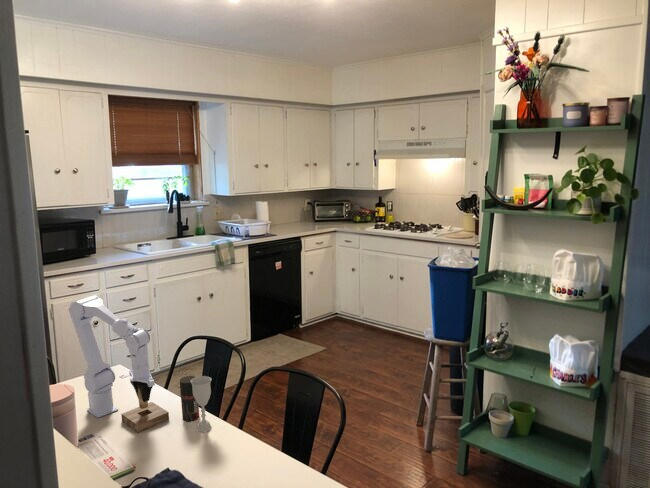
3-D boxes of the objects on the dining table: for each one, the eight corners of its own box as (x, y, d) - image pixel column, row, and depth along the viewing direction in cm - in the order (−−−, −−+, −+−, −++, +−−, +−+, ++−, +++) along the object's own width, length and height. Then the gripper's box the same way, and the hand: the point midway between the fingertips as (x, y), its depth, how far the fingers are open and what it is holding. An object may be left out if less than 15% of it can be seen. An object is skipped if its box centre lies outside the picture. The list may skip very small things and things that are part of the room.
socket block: (122, 421, 190) (121, 413, 190) (152, 409, 199) (151, 401, 198) (138, 432, 182) (137, 425, 182) (169, 419, 191) (168, 411, 190)
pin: (138, 406, 190) (136, 388, 188) (146, 403, 192) (144, 385, 190) (141, 409, 187) (139, 391, 186) (149, 406, 189) (147, 388, 188)
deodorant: (195, 422, 188) (192, 383, 186) (179, 421, 190) (176, 382, 187) (202, 414, 194) (199, 376, 191) (187, 413, 195) (184, 375, 193)
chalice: (218, 424, 186) (215, 377, 183) (208, 434, 180) (204, 385, 177) (200, 421, 189) (197, 375, 185) (190, 431, 182) (186, 383, 179)
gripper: (120, 362, 189) (123, 397, 191) (139, 372, 179) (143, 409, 181) (138, 356, 194) (141, 390, 196) (158, 366, 184) (161, 402, 186)
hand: (143, 399), depth 189 cm, fingers closed on pin, 3 cm apart
